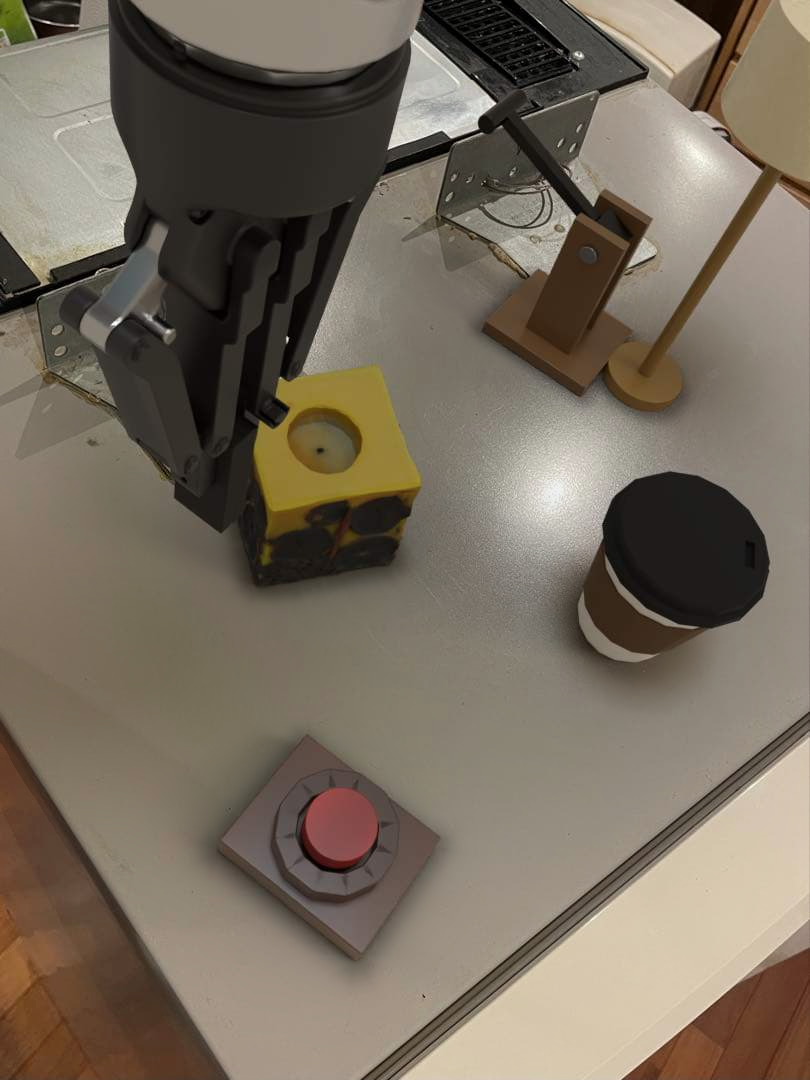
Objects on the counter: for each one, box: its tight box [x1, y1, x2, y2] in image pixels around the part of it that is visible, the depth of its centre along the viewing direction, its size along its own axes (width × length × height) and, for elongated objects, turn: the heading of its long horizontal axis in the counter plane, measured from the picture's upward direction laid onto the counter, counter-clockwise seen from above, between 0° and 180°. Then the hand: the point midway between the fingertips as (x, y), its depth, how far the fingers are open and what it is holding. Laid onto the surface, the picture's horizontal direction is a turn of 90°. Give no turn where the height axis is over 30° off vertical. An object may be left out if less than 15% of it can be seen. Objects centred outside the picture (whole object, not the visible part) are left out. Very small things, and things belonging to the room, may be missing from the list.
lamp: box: [602, 0, 810, 412], centre depth 71 cm, size 11×11×32 cm
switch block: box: [217, 734, 442, 961], centre depth 57 cm, size 10×8×4 cm
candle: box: [236, 364, 423, 587], centre depth 66 cm, size 10×10×10 cm
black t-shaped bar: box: [477, 88, 633, 242], centre depth 74 cm, size 14×5×2 cm, turn 55°
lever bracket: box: [481, 188, 654, 398], centre depth 79 cm, size 10×9×13 cm
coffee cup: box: [577, 470, 771, 663], centre depth 66 cm, size 11×11×12 cm
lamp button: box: [301, 788, 378, 869], centre depth 54 cm, size 4×4×2 cm
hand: (208, 505), depth 44 cm, fingers closed
